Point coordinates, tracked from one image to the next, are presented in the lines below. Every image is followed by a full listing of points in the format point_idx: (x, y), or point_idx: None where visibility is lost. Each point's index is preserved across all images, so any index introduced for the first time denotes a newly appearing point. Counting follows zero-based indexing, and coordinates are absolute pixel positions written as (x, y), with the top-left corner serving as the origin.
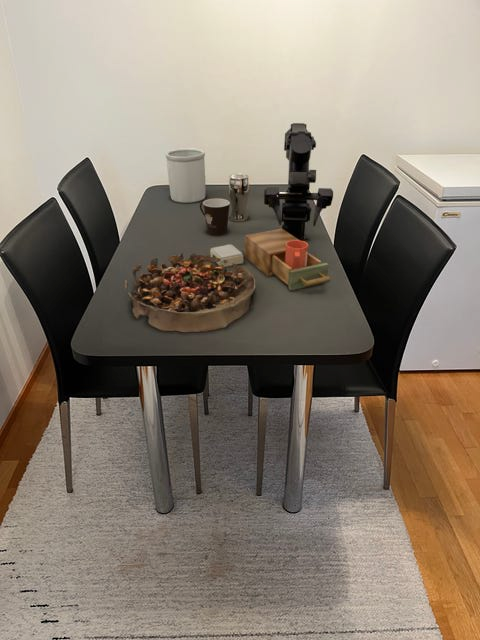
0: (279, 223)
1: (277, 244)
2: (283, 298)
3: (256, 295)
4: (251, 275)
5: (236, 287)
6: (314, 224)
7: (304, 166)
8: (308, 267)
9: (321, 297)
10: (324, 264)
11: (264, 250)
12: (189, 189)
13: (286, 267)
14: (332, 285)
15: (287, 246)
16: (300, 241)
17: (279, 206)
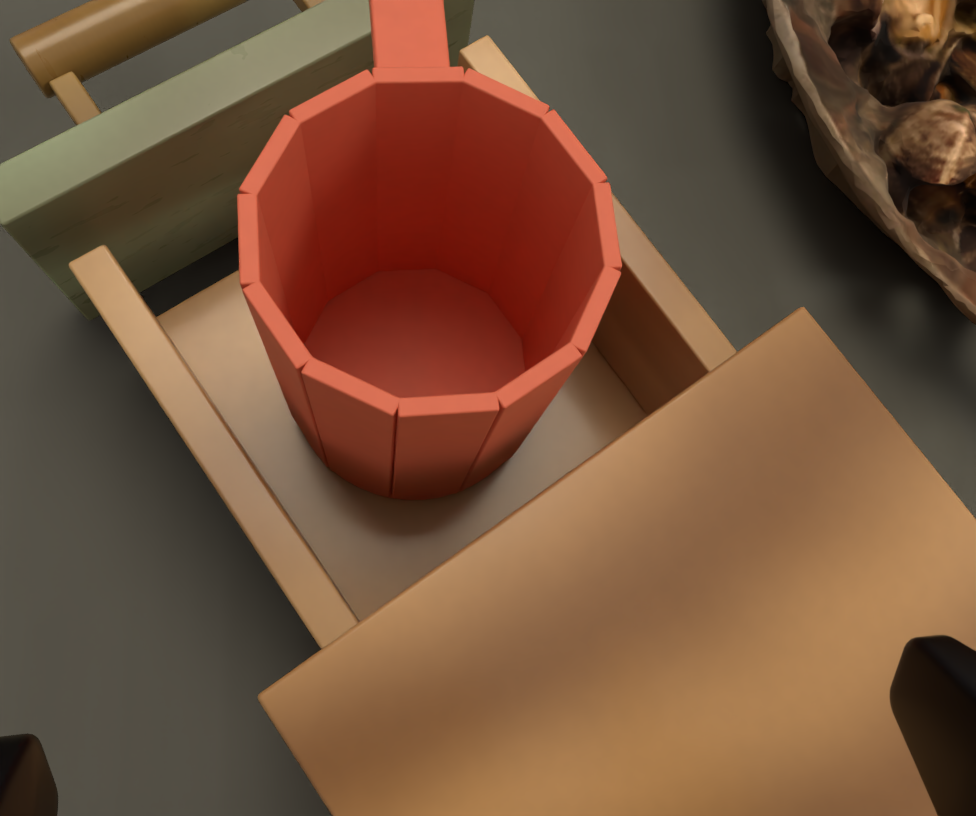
0: (951, 655)
1: (747, 646)
2: (485, 16)
3: (712, 45)
4: (846, 136)
5: (906, 19)
6: (5, 741)
7: None
8: (252, 63)
9: (148, 56)
10: (31, 159)
11: (879, 403)
12: None
13: (520, 82)
14: (12, 290)
15: (581, 145)
16: (379, 389)
17: None
